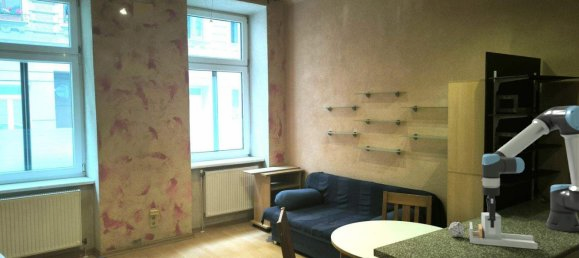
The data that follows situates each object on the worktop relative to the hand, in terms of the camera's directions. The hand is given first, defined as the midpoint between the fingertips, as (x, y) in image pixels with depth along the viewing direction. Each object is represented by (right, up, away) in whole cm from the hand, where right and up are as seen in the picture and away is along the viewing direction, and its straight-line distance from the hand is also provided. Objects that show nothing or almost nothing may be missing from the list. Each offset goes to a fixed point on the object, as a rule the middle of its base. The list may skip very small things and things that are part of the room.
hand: (491, 230), depth 203 cm
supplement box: (0, -5, 0) cm, 5 cm away
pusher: (-4, -4, +2) cm, 7 cm away
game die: (-13, -5, +8) cm, 17 cm away
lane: (+4, -5, -2) cm, 7 cm away
